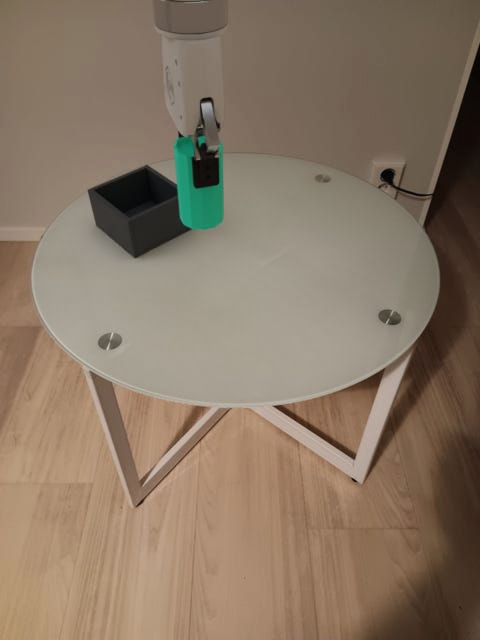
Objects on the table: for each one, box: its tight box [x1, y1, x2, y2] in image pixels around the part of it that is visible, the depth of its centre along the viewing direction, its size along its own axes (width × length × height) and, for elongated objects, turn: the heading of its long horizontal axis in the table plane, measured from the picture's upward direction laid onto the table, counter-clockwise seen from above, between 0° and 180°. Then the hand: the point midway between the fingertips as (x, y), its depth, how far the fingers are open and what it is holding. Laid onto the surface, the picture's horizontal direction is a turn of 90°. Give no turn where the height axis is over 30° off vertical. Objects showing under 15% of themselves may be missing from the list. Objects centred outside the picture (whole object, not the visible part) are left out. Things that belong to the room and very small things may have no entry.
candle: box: [173, 136, 225, 231], centre depth 65 cm, size 6×6×12 cm
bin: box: [87, 164, 192, 259], centre depth 90 cm, size 13×13×8 cm
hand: (199, 170), depth 64 cm, fingers closed on candle, 5 cm apart
